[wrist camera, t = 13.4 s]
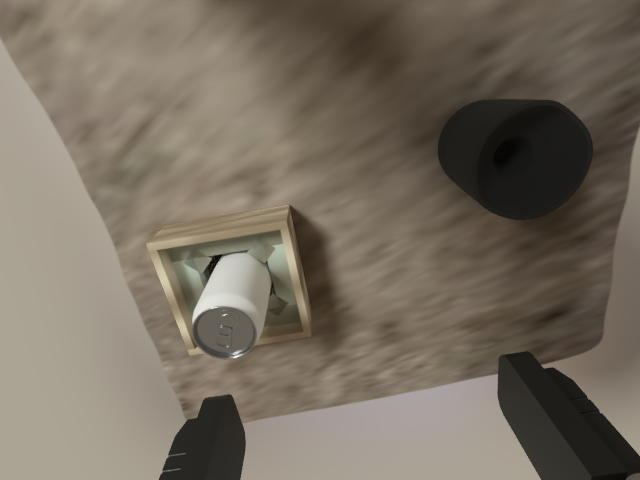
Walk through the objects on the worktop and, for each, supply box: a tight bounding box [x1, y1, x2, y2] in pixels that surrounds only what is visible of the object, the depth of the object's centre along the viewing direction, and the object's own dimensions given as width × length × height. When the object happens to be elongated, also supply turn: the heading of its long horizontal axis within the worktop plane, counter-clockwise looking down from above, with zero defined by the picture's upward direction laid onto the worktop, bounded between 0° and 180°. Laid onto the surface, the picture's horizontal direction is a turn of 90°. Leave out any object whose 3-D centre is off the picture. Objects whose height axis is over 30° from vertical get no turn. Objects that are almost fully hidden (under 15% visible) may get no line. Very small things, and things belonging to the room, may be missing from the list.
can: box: [192, 250, 272, 359], centre depth 37 cm, size 6×6×12 cm
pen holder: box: [438, 99, 593, 220], centre depth 33 cm, size 9×9×10 cm
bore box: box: [146, 205, 312, 355], centre depth 41 cm, size 14×14×5 cm
